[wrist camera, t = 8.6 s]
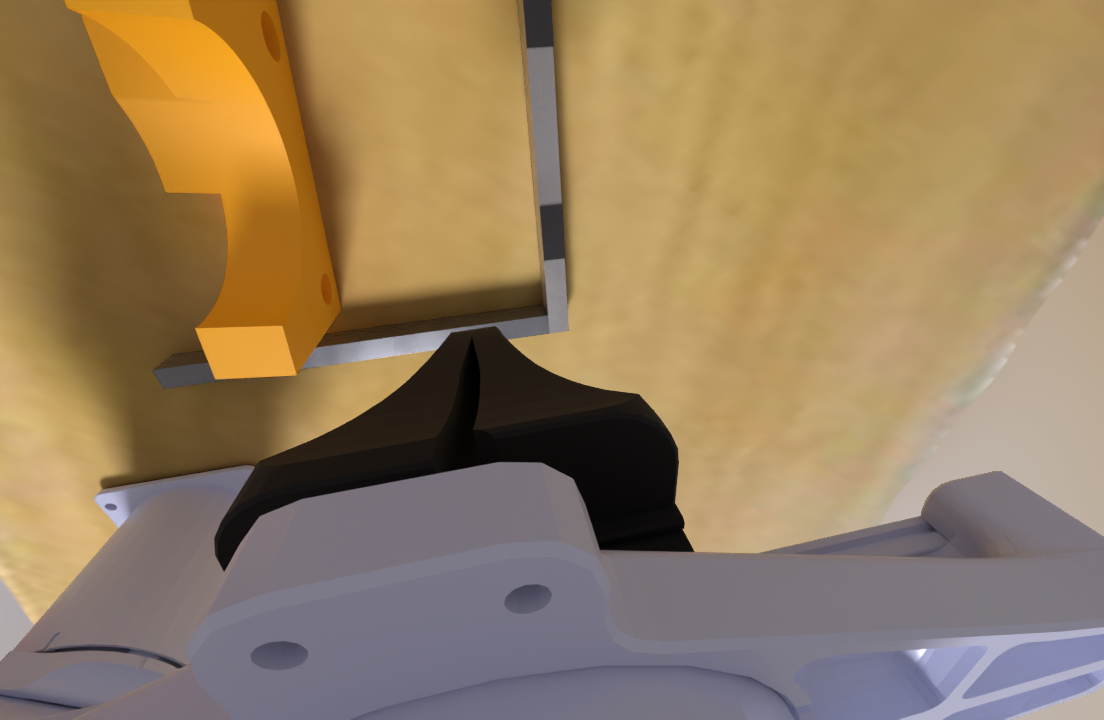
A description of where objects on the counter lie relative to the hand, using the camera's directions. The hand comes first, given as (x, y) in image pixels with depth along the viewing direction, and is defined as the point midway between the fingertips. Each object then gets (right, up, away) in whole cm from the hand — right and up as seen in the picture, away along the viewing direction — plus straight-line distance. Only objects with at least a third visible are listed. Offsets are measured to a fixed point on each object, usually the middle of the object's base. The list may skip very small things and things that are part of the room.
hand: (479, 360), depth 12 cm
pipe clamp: (-10, +8, +6) cm, 14 cm away
